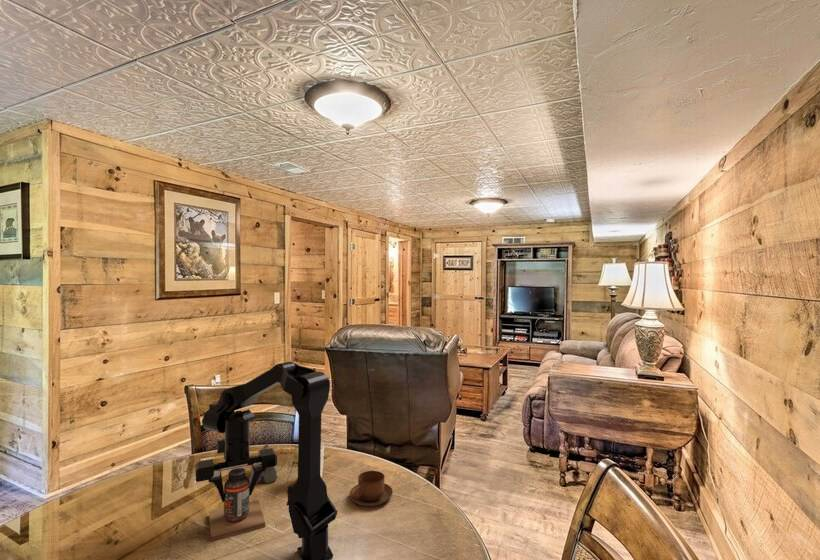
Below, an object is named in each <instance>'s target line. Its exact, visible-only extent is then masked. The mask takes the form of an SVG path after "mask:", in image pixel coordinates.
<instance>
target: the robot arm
mask: <svg viewBox="0 0 820 560" xmlns="http://www.w3.org/2000/svg"><path fill="white" fill-rule="evenodd" d="M279 385H280V386H281V388H282V390H283V391H284V393H287V394H288V395H290V396H291V402H292V403H291V404H292V405H293V407H294V409H295V411H296V412H297V414H298V434H297V435H298V436H297V437H298V440H297V442H298V443H297V449H298V450H297V478H296V481H295V482H293V483H292V484H291V485H289V486H288V487H287V491H286V493H287V501H286V506H287V507H288V514H289V517H290V523H291V527H292V531H293V534H295V535H297V538H298V539H301V546H298V547H297V549H296V550H297V554H298V556H299V559H300V560H331V559H333V558H334V553H333V552H332V549H331V548H330V546H329V525H330V524H331V522H333V521H335V520H336V518H337V515H338V510H337V509H336V507H335V506H334V504H333V502H332V500H331V499H330V497H329V496H328V489H327V483H326V482H325V481H324V479H323V477H322V478H321V476H320V461H321V444H322V414H323V410H324V408H325V406H326V404H327V403H328V400H329V395H330V389H331V388H330V387H331V381H330V379H329V377H328V376H327V375H326V374H325V373H324V372H322V371H317V370H316V369H313V368H310V367H306V366H304V365H299V364H298V363H296V362H293V361H290V360H289V361H285V362H281V363H277V364H274V366H273V367H272V368H269V369H268V370H266V371H265V372H263V373H261V374H260V375H257V376H255V378H252V379H250V380H249V381H247V382H246V383H242V384H240V385H235V386H232V387H228V388H225V389H224V390H223V389H222V391H221V393H220V395H221V396H220V397H219V400H218V401H217V402H214V403H211V404H209V407H208V408H209V409H208V410H207V411H205V412H204V415H203V417H202V419H201V423H202V424H201V425H202V427H203V428H204V429H205V430H209V431H213V432H217V433H220V434H224V439H221V440H217V441H216V454H223V460H224V461H222V462H216V463H214V459H213V458H212V459H206V460H199V461H197V462H196V464H195V465H194V466H195V472H194V473H195V482H196V483H200V482H205V481H207V482H208V484H209V483H211V484H212V483H213V484H214V486H215V488H216V489H217V491H218V494H219V496H220V499H221V501H222V503H224V498H225V496H224V483H223V478H222V477H223V476H222V472H223V471H228V470H233V469H236V468H244V467H248V466H250V477H249V481H250V494H249V497H250V496H252V494H253V492H254V489H255V487H256V485H257V480H258V478H259V477H260V475H261V473H262V472H264V471H266V468H268V467H273V466H276V465H277V466H278V454H277V453H276V451H275V450H274V449H273V448H272V447H271V448H270V449H265V450H261V449H259V450H258V452H257V454H256V455H252V456H250V421H252V420H254V419H256V415H255V414H254V413H253V412H251V410H250V409H245V410H242V409H244V408H247V407H250V406H252V405H253V404H254V403H256V402H257V401H258V400H259V397H260V396H261V395H262V394H264V393H265V392H269V391H270V390H271V389H273V388H275V387H277V386H279Z"/></svg>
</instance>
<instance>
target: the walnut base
mask: <svg viewBox="0 0 820 560" xmlns="http://www.w3.org/2000/svg"><path fill="white" fill-rule="evenodd" d="M264 517H265V516H264V514H263V510H262V508H261V504H260V501H259V500H258V499H257V500H252V501H249V514H248V515H247V516H246V517H245V518H244V519H242V520H239V521H234V522H231V521H227V520H225V518H224V507H222V508H219V509H215V510H211V511H209V513H208V518H209V519H208V520H209V528H210V529H209V530H210V540H211V542H214V541H218V540H221V539H225V538H228V537H231V536H236V535H239V534H242V533H243V534H244V533H248V532H251V531H254V530H255V531H256V530H258V529H263V528H266V521H265V518H264Z"/></svg>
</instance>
